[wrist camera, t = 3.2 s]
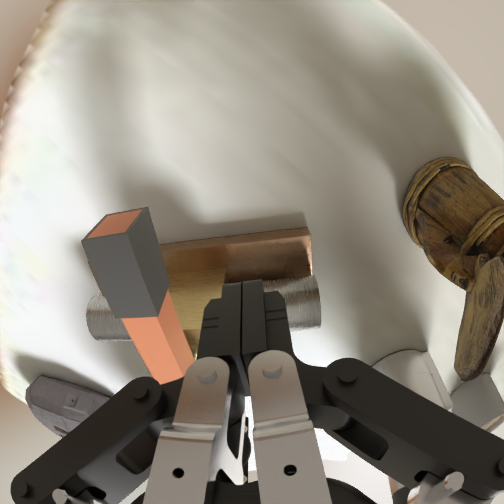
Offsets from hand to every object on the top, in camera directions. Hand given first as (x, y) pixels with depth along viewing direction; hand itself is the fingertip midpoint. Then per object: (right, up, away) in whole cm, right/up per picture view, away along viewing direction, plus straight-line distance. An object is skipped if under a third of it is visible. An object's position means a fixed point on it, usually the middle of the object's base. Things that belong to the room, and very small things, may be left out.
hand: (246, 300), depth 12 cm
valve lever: (-5, -2, +6) cm, 8 cm away
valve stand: (-4, -2, +17) cm, 17 cm away
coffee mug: (+42, -26, +31) cm, 58 cm away
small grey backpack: (-30, -24, +30) cm, 49 cm away
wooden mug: (+16, +6, +12) cm, 21 cm away
